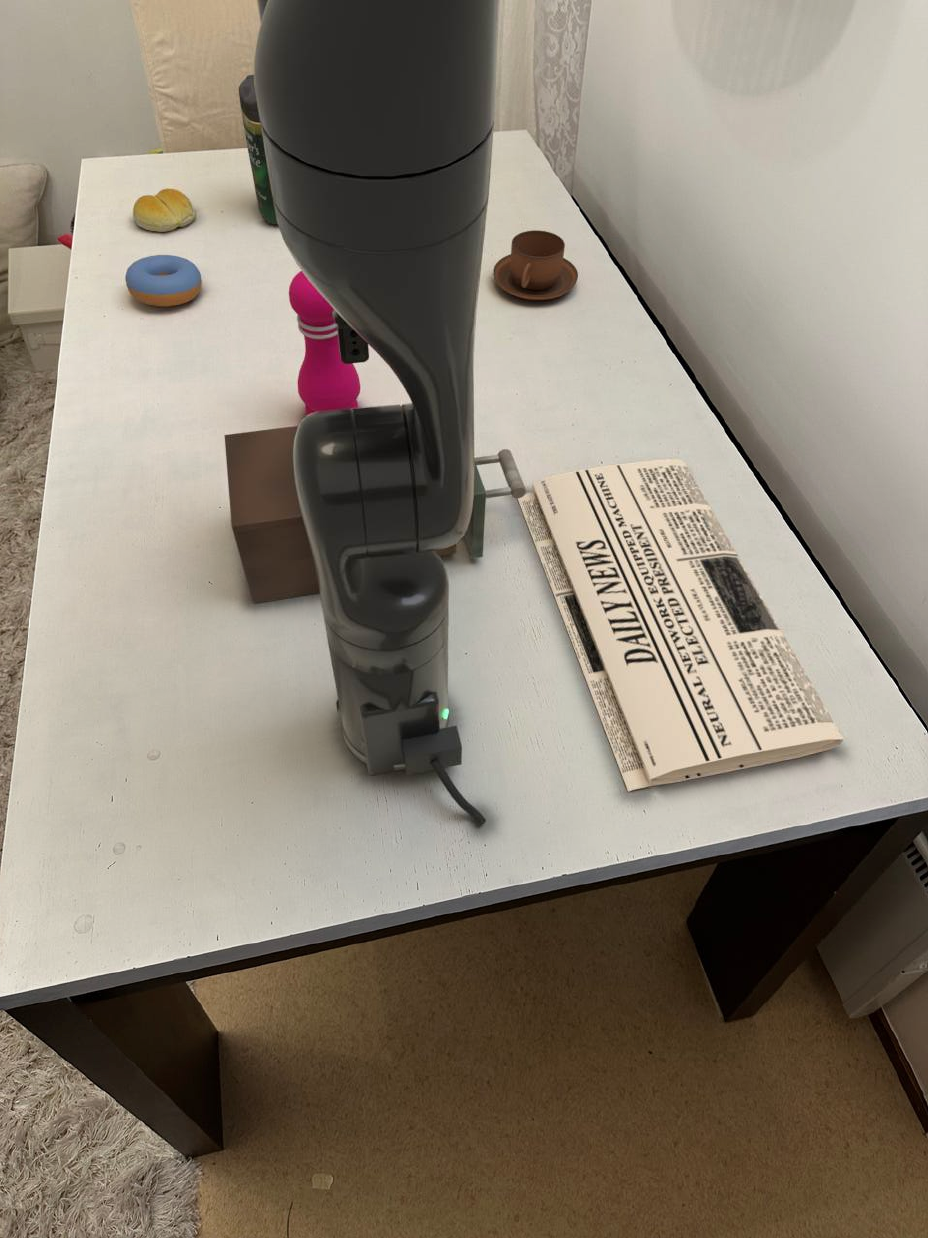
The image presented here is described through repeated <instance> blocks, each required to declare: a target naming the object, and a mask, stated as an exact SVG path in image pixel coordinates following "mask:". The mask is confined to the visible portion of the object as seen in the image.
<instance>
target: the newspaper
mask: <svg viewBox="0 0 928 1238" xmlns="http://www.w3.org/2000/svg"><path fill="white" fill-rule="evenodd" d="M532 490H533V492H526V494H525V495H524V496H523V497H521V498H517V501H518V502H519V506H520V509H521V511H522V514H523V516H524V519H525V522H526V525H527V527H528V530H529V532H530V535H531V538H532V541H533V543H534V546H535V548H536V549H535V550H536V551H537V554H538V557H539V559H540V561H541V564H542V568H543V570H544V572H545V575H546V578H547V580H548V583H549V585H550V589H551V591H552V594H553V596H554V599H555V601H556V605H557V607H558V610H559V612H560V615H561V618H562V620H563V623H564V625H565V629H566V630H567V633H568V636H569V639H570V641H571V644H572V647H573V649H574V651H575V655H576V657H577V660H578V662H579V665H580V668H581V670H582V673H583V676H584V678H585V682H586V684H587V686H588V689H589V691H590V694H591V697H592V700H593V702H594V705H595V707H596V711H597V713H598V715H599V718H600V720H601V723H602V726H603V729H604V731H605V733H606V736H607V740H608V741H609V744H610V747H611V750H612V752H613V756H614V758H615V760H616V763H617V766H618V769H619V772H620V774H621V776H622V779H623V781H624V784H625V787H626V790H627V792H631V791H635V790H639V789H643V788H648V787H653V786H661V785H668V784H674V783H680V782H685V781H690V780H694V779H701V778H704V777H709V776H715V775H719V774H725V773H729V772H734V771H739V770H745V769H750V768H754V767H760V766H763V765H768V764H774V763H778V762H779V763H780V762H783V761H784V762H785V761H788V760H794V759H799V758H803V757H806V756H810V755H814V754H818V753H821V752H825V751H829V750H832V749H834V748H836V747H839V746H840V745H842V743H843V741H844V737H843V736H842V734H841V731H839V729H838V727H837V726H836V724H835V722H834V720H833V718H832V716H831V715H830V713H829V711H828V709H827V708H826V706H825V704H824V702H823V701H822V698H820V695H819V693H817V690H816V689H815V687H814V685H813V684H812V682H811V680H810V678H809V677H808V675H807V673H806V672H805V670H804V668H803V666H802V664H801V663H800V660H799V659H798V657H797V655H796V654H795V652H794V650H793V649H792V647H791V645H790V643H789V642H788V640H787V638H786V636H785V635H784V633H783V632H782V630H781V628H780V626H779V624H778V622H777V621H776V619H775V617H774V615H773V614H772V613H771V611H770V609H769V607H768V605H767V604H766V602H765V600H764V598H763V597H762V595H761V594H760V591H759V590H758V588H757V586H756V584H755V583H754V581H753V579H752V577H751V576H750V574H749V572H748V570H747V569H746V567H745V565H744V564H743V562H742V560H741V559H740V556H739V555H738V553H737V551H736V550H735V548H734V546H733V544H732V543H731V540H730V539H729V538H728V536H727V534H726V532H725V531H724V529H723V527H722V525H721V524H720V522H719V520H718V518H717V517H716V515H715V513H714V512H713V510H712V508H711V506H710V505H709V503H708V501H707V500H706V498H705V496H704V494H703V493H702V491H701V489H700V487H699V486H698V483H697V482H696V481H695V478H694V477H693V475H692V473H691V472H690V470H689V468H688V466H687V465H686V463H685V461H684V460H681V459H676V458H675V459H674V458H666V459H665V458H664V459H655V460H645V461H636V462H625V463H617V464H608V465H601V466H596V467H589V468H584V469H579V470H574V471H570V472H569V471H567V472H563V473H558V474H553V475H548V476H546V477H544V478H542V479H539V480H537V481H536V482H533V483H532Z"/></svg>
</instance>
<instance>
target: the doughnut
mask: <svg viewBox="0 0 928 1238" xmlns="http://www.w3.org/2000/svg"><path fill="white" fill-rule="evenodd" d="M124 280H125V285H126V288H127V290H128V292H129V294H130V296H132V297H133V298H134V299H135V300H137V301H138V302H140V303H142V304H146V305H149V306H155V307H173V306H179V305H182V304H185V303H188V302H190V301H192V300H193V299H195V298H196V297H197V296H198V295H199V294H200V292H201V290H202V284H203V283H202V281H203V280H202V274H201V271H200V270H199V268H198V267H197V265H196V264H195V263H193V261H190V260H189V259H187V258H184V257H181V256H178V255H172V254H156V255H148V256H145V257H142V258H139V259H137V260H135V261H134V262H132V263H131V264H130V265H129V267H127V269H126V272H125V279H124Z"/></svg>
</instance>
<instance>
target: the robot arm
mask: <svg viewBox="0 0 928 1238" xmlns="http://www.w3.org/2000/svg"><path fill="white" fill-rule="evenodd" d="M256 3H257V8H258V15H259V22H260V26H259V30H258V33H257V39H256V45H255V52H254V58H253V75H254V85H255V92H256V99H257V105H258V112H259V117H260V124H261V130H262V136H263V142H264V148H265V155H266V161H267V167H268V173H269V179H270V185H271V191H272V197H273V202H274V207H275V213H276V219H277V223H278V224H277V225H278V229H279V231H280V235H281V237H282V240H283V242H284V244H285V246H286V247H287V250H288V251H289V253H290V255H291V256H292V258H293V259H294V261H295V263H296V265H297V267H298V268H299V269H300V271H302V272H303V273H304V275H305V276H306V277H307V279H308V280H309V281H310V282H311V284H312V285H313V286H314V287H315V288H316V290H317V291H318V292H319V293H320V294H321V295H322V296H323V297H324V298H325V299H326V301H327V302H328V303H329V304H330V305H331V306H332V307H333V308H334V311H332V312H333V318H335V324H337V331H338V340H339V349H340V356H341V360H342V362H343V363H345V364H352V363H353V364H359V363H360V364H361V363H365V362H368V360H369V359H370V349H369V347H370V348H371V349H373V350H374V351H375V353H377V355H378V356H379V357H380V358H381V359H382V360H383V361H384V362H385V364H386V365H387V366H388V367H389V368H390V369H391V371H392V372H393V373H394V375H395V376H396V377H397V379H398V381H399V382H400V383H401V385H402V386H403V388H404V390H405V392H406V394H407V395H408V398H409V399H410V401H411V402H409V403H403V404H399V403H397V404H386V405H375V406H365V407H364V406H363V407H360V406H359V407H358V408H352V409H337V410H327V411H319V412H314V413H311V414H309V415H307V416H306V415H305V417H304V418H302V420H301V422H300V423H299V425H298V426H299V427H298V429H297V432H296V435H295V439H294V446H293V468H294V478H295V486H296V491H297V496H298V501H299V505H300V510H301V514H302V518H303V522H304V526H305V529H306V533H307V537H308V540H309V544H310V548H311V551H312V555H313V560H314V564H315V568H316V573H317V578H318V584H319V590H320V593H319V597H320V603H321V611H322V616H323V621H324V622H323V623H324V627H325V633H326V640H327V645H328V650H329V651H328V652H329V657H330V663H331V668H332V674H333V678H334V684H335V690H336V696H337V699H336V702H335V705H336V710H337V711H336V712H340V717H341V729H342V735H343V739H344V741H345V744H346V746H347V747H348V749H349V750H350V752H351V753H352V754H353V755H354V757H356V758H357V759H358V760H360V761H361V762H362V763H364V764H365V765H366V766H367V770H368V774H369V775H371V776H373V775H379V774H380V775H381V774H384V773H390V772H395V771H404V770H405V773H406V775H407V776H408V775H413V774H419V773H425V772H430V771H435V773H436V776H437V777H438V778H439V780H440V781H441V783H442V784H443V786H444V788H445V789H446V790H447V792H448V794H449V795H450V797H451V798H452V800H454V801H455V803H456V804H457V805H458V806H459V807H460V808H461V809H462V810H463V811H464V812H466V813H467V814H468V815H469V816H470V817H471V818H472V819H473V820H474V821H475V822H476V823H477V825H478V826H479V827H482V826H484V824H486V822H487V820H486V818H485V817H484V816H483V814H482V813H481V812H480V810H478V809H477V808H476V807H475V806H473V804H471V803H470V802H469V801H468V800H467V799H466V798H465V797H464V796H463V794H462V793H461V792H460V791H459V789H458V788H457V786H456V785H455V784H454V781H452V779H451V777H450V776H449V774H448V772H447V771H446V769H447V768H451V767H456V766H460V765H462V758H463V755H462V754H463V745H462V741H461V737H460V734H459V730H458V726H457V725H453V726H450V711H449V624H450V623H449V622H450V621H449V619H450V617H449V615H450V604H449V603H450V582H449V574H448V571H447V568H446V566H445V564H444V561H443V560H442V558H441V557H440V555H438V554H437V553H436V552H435V551H436V550H440V549H443V548H447V547H449V546H452V545H454V544H455V543H459V542H460V541H461V540H462V539H463V537H465V536H464V534H465V532H466V530H467V528H468V525H469V522H470V519H471V514H472V509H473V499H474V458H475V372H474V371H475V343H476V341H475V340H476V326H477V316H478V315H477V314H478V301H479V292H480V291H479V290H480V282H481V273H482V272H481V271H482V263H483V254H484V253H483V252H484V243H485V236H486V235H485V234H486V226H487V225H486V224H487V217H488V216H487V215H488V206H489V196H490V187H491V185H490V184H491V169H492V157H493V145H494V143H493V142H494V128H495V115H496V90H497V89H496V88H497V66H498V65H497V62H498V38H499V37H498V35H499V14H500V13H499V9H500V0H256Z"/></svg>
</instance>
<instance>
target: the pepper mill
mask: <svg viewBox="0 0 928 1238" xmlns="http://www.w3.org/2000/svg"><path fill="white" fill-rule="evenodd" d="M290 281H291V282H290V284H289V287H288V298H289V299H288V300H289V304H290V307H291V309H292V310H293V311H294V312H295V314H296V315H297V316H296V321H297V329H298V330H299V332H300V333H301V334H302V335H303V338H304V349H305V350H304V351H305V352H304V358H303V361H302V363H301V365H300V368H299V371H298V377H297V393H298V396H299V398H300V400H301V401H302V403H303V404H304V411H305V417H306V416H307V415H309V414H311V413H314V412H319V411H327V410H337V409H352V408H359V402H358V400H357V399H358V398H359V395H360V394H361V382H360V376H359V373H358V371H357V369H356V367H355V364H354V363H352V364H345V363H343V362H342V360H341V356H340V349H339V340H338V331H337V324H335V318H333V312H332V311H334V308H333V307H332V306H331V305H330V304H329V303H328V302H327V301H326V299H325V298H324V297H323V296H322V295H321V294H320V293H319V292H318V291H317V290H316V288H315V287H314V286H313V285H312V284H311V282H310V281H309V280H308V279H307V277H306V276H305V275H304V273H303V272H302V270H300V271H299V272H297V273H296V274H295V275H294V276H293V278H292V279H291V280H290Z"/></svg>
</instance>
